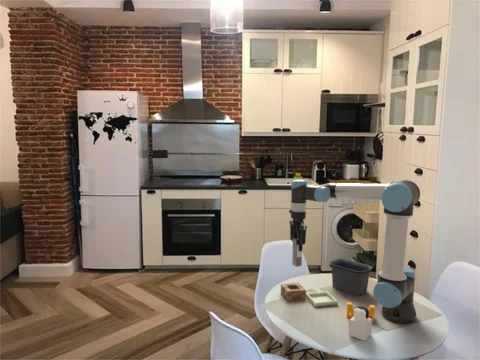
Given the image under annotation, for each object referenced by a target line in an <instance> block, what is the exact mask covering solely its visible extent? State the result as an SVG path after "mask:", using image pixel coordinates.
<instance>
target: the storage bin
mask: <svg viewBox="0 0 480 360" xmlns="http://www.w3.org/2000/svg"><path fill="white" fill-rule="evenodd" d="M328 263H329V267H330V268H331V277H332V278H331V279H332V281H331V283H332V288H336V289H338V290H339V291H340V290H341V291H343V292H347V293H350V294H353V295H354V296H361V295H363V294H365V293H367V292H368V286H369V279H370V278H369V277H370V273H371V272H372V269H373V266H371V265H368V264H367V263H365V264H364V263H361V262H357V261H355V260H350V259H345V258H341V257H339V258H336V259H334V260H330V261H329V262H328Z"/></svg>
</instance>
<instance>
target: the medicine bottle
mask: <svg viewBox="0 0 480 360" xmlns="http://www.w3.org/2000/svg"><path fill="white" fill-rule="evenodd" d="M353 308H354V317H352V318H350V319H349V326H348V336H349V337H352V338H354V339H355V338H356V339H358V340H360V341H364V342H365V341H367V339H369V337H371V336H372V329H373V321H372V319H371V318H369V310H368V309H369V308H367V307H366V306H365V307H364V306H361V305H357V306H355V307H353Z"/></svg>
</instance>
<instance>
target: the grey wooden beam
mask: <svg viewBox="0 0 480 360" xmlns="http://www.w3.org/2000/svg"><path fill="white" fill-rule="evenodd" d="M297 244H298V238H293V242H292V259H291V260H292V263H291V264H292V265H293V266H294V267H296V268H297V267H302V263H303V261H302V258H303V256H302V257H297Z"/></svg>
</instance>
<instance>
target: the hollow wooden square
mask: <svg viewBox="0 0 480 360" xmlns="http://www.w3.org/2000/svg"><path fill="white" fill-rule="evenodd" d="M306 293H307V289H306V288H304V286H302V285H301V283H300V282H292V283H290V282H289V283H281V284H280V294H281V295H282V297H284V299H285V300H286V301H289V302H291V301H302V300H306V299H307V298H306Z"/></svg>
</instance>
